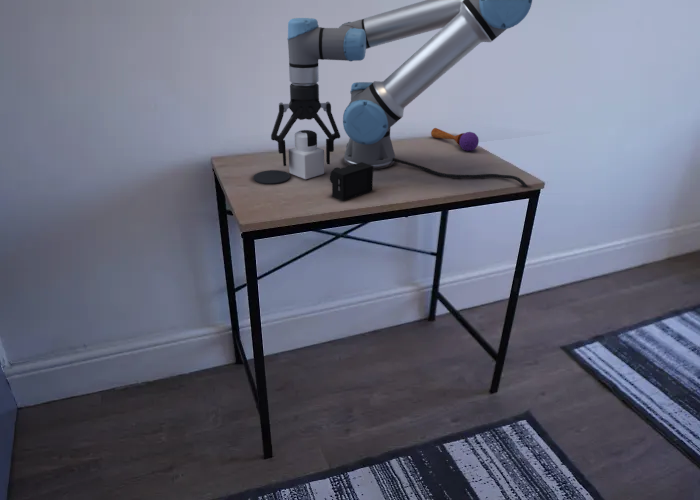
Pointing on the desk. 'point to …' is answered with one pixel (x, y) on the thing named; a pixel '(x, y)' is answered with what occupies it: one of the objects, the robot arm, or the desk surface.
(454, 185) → the desk surface
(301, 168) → the medicine bottle
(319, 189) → the desk surface
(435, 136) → the maraca
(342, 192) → the digital camera
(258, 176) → the coaster
